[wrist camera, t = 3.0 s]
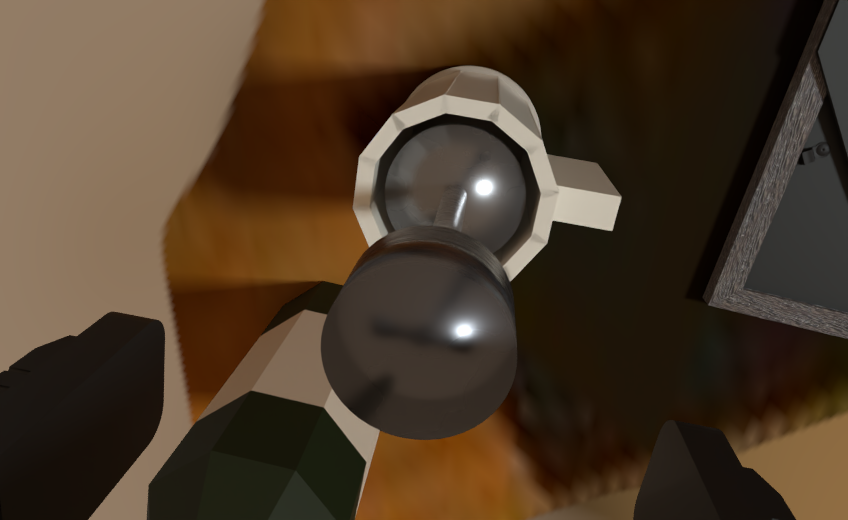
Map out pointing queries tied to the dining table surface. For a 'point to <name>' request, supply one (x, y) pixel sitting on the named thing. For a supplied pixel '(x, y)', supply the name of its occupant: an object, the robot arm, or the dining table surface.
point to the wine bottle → (272, 435)
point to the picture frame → (797, 199)
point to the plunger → (432, 291)
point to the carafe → (519, 129)
